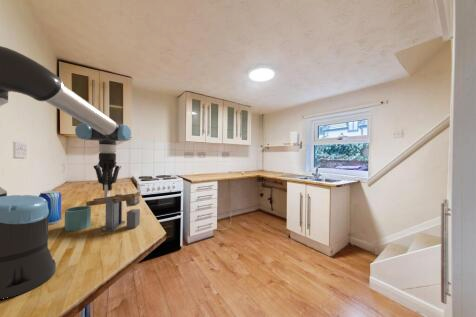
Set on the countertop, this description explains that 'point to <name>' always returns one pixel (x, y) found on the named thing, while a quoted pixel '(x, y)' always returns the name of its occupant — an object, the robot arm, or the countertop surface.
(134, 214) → the block
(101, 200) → the lever
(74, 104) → the robot arm
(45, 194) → the beer can
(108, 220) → the stand
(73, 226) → the teal beaker
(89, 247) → the countertop surface
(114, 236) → the countertop surface
